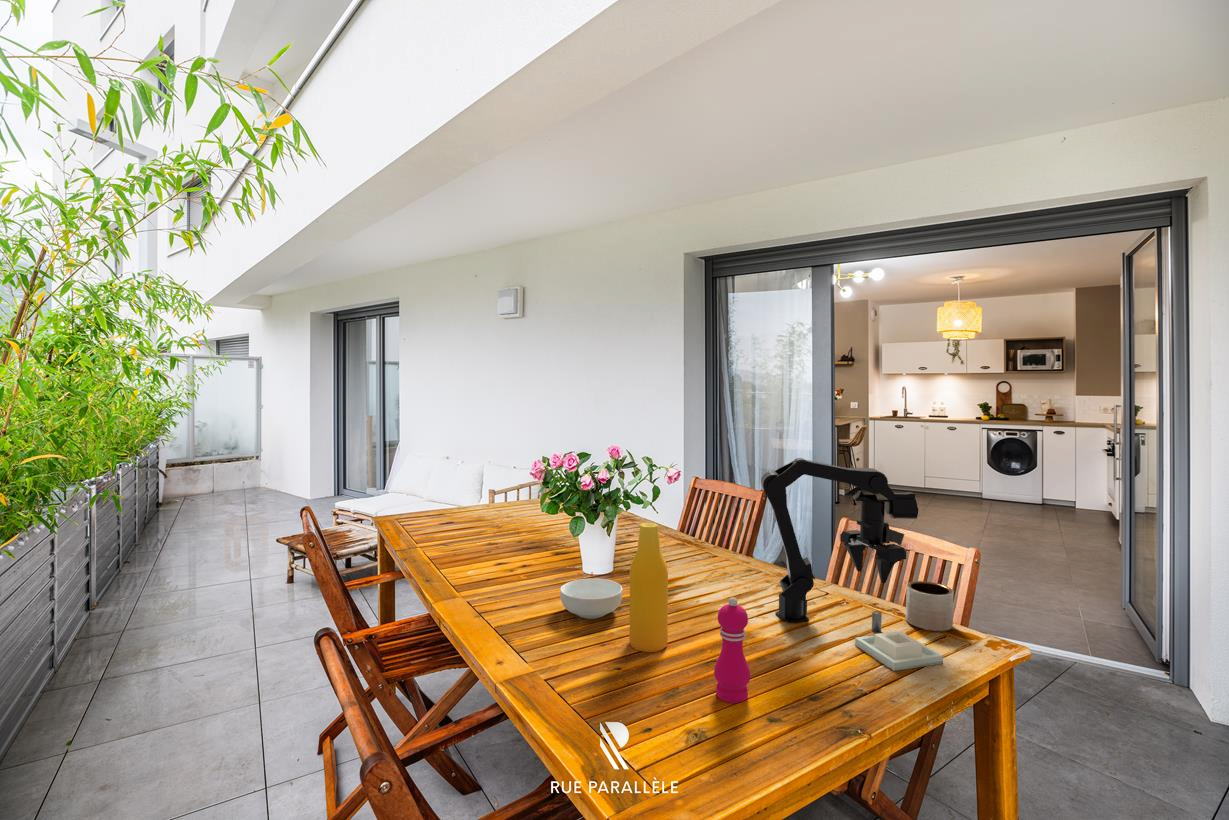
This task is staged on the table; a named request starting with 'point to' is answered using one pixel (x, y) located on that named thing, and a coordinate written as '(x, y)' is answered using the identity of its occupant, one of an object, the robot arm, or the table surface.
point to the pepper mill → (732, 654)
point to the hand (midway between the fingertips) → (871, 576)
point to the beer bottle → (648, 593)
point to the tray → (926, 659)
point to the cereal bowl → (591, 597)
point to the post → (876, 621)
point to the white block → (898, 645)
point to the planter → (929, 606)
